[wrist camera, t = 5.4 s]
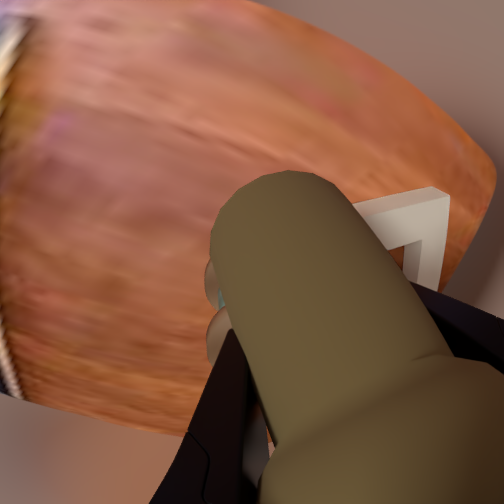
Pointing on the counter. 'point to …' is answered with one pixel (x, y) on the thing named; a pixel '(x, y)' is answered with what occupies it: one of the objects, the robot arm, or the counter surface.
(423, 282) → the notched board
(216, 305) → the brown spool-shaped piece
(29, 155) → the counter surface
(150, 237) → the counter surface
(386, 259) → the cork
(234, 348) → the robot arm
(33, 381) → the counter surface
